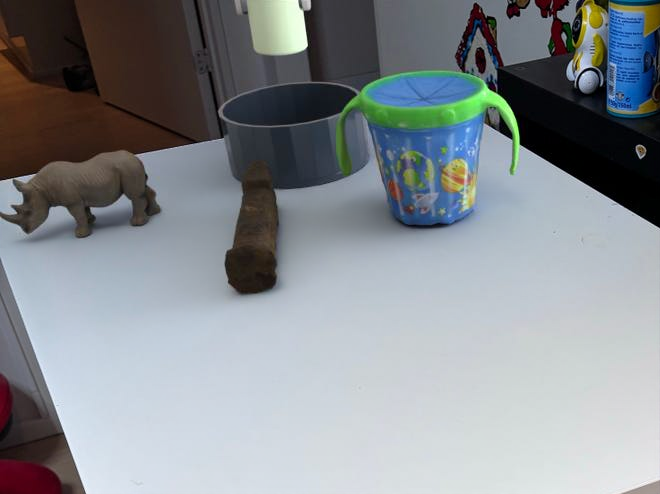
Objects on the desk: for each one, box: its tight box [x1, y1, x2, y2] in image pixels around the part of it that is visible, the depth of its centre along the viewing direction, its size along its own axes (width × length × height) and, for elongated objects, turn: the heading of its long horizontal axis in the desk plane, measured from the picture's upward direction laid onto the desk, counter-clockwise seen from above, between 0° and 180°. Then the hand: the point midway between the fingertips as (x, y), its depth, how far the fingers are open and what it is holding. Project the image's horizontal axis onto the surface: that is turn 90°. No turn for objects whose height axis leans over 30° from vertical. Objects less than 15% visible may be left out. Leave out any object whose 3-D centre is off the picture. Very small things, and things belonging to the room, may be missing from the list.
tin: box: [217, 81, 370, 190], centre depth 100 cm, size 14×14×6 cm
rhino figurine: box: [0, 149, 162, 238], centre depth 90 cm, size 4×14×6 cm, turn 114°
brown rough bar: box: [223, 160, 280, 295], centre depth 86 cm, size 19×4×5 cm, turn 3°
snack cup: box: [336, 70, 520, 226], centre depth 87 cm, size 16×10×10 cm
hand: (274, 11), depth 93 cm, fingers closed on candle, 4 cm apart
